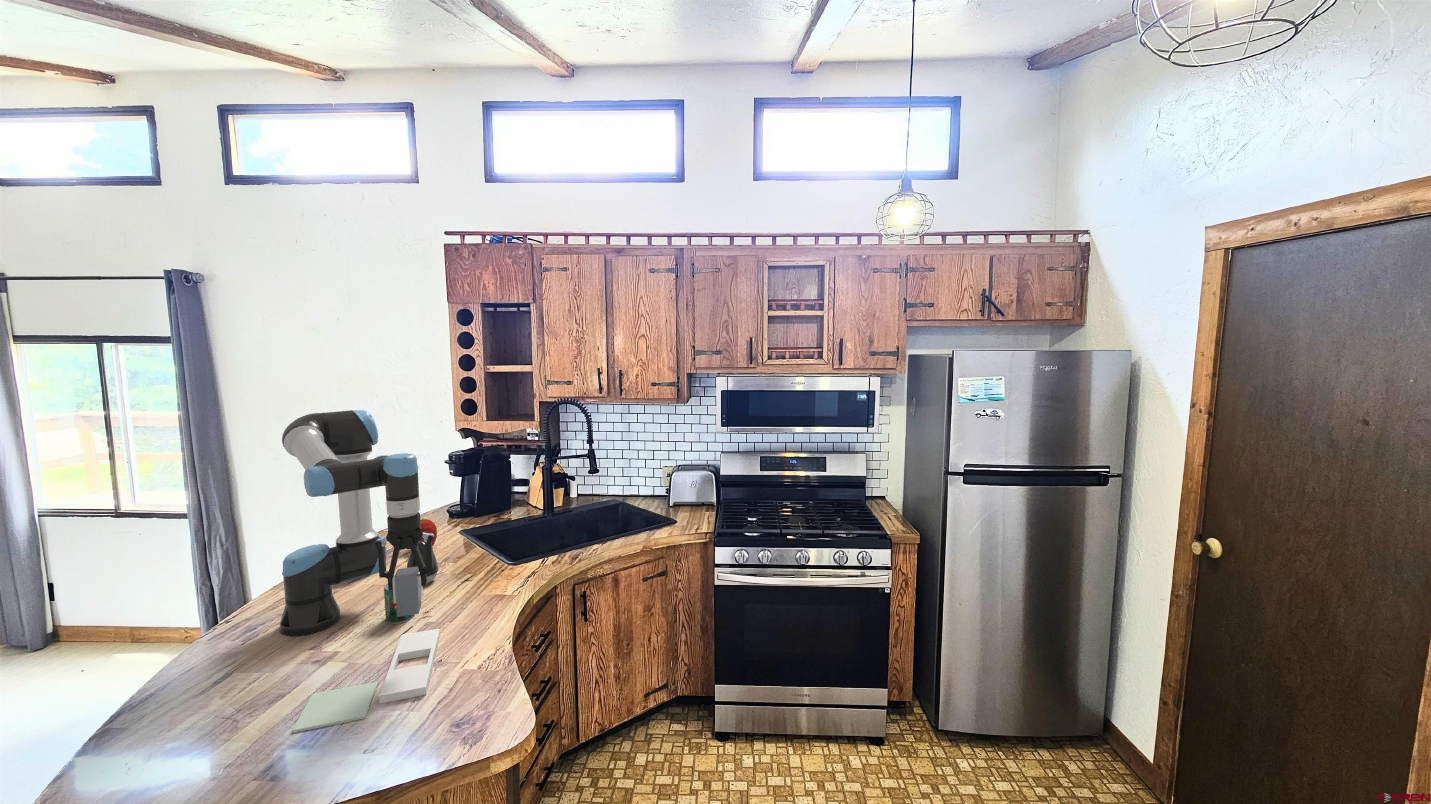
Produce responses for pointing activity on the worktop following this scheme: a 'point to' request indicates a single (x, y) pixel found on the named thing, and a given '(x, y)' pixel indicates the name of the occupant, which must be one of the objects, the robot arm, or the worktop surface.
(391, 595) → the canned tomato
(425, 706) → the worktop surface
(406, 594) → the square block
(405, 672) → the rail
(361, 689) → the pad
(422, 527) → the apple
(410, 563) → the black rounded cone
